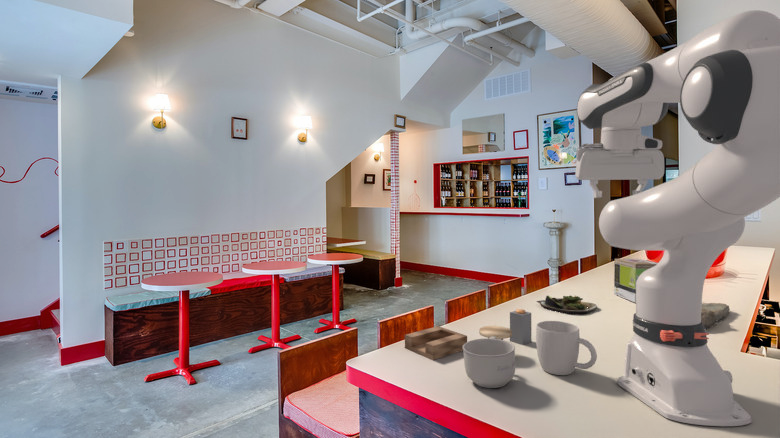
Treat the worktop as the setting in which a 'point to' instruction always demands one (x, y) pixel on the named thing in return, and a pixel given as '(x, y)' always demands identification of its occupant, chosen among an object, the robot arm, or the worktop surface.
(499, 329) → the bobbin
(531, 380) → the worktop surface
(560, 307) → the salad plate
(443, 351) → the notch board
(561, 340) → the mug
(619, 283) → the tea box
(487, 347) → the teacup
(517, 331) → the grey knobbed block
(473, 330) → the worktop surface
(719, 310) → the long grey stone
